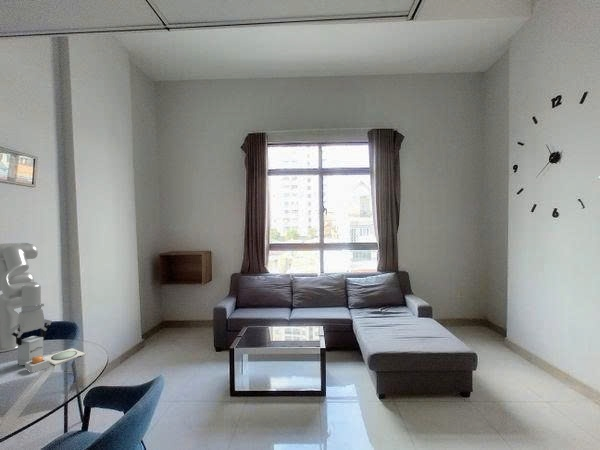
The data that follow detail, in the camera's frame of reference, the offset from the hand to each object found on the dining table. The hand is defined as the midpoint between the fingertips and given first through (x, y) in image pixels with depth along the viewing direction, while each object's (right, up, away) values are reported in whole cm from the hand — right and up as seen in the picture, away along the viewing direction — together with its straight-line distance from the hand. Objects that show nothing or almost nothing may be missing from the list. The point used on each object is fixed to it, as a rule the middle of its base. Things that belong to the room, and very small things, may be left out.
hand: (31, 341), depth 157 cm
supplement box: (-1, -12, +1) cm, 12 cm away
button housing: (+7, -12, -5) cm, 15 cm away
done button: (+8, -9, -5) cm, 13 cm away
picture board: (+11, -11, +8) cm, 18 cm away
